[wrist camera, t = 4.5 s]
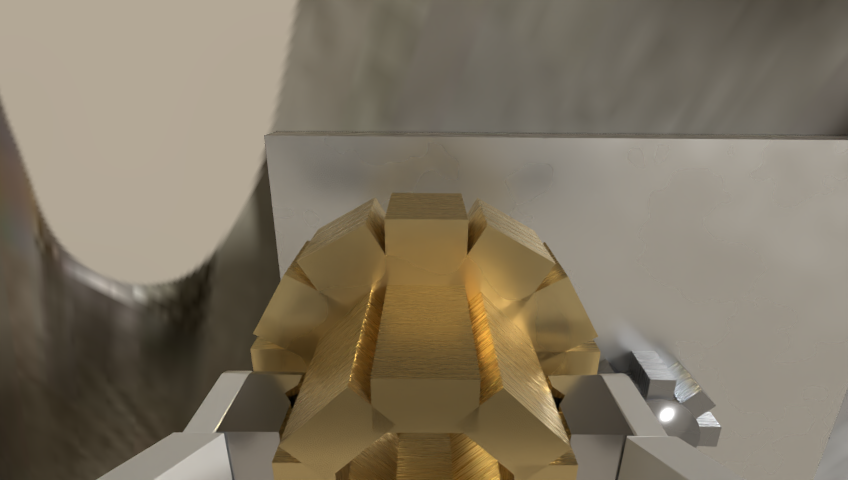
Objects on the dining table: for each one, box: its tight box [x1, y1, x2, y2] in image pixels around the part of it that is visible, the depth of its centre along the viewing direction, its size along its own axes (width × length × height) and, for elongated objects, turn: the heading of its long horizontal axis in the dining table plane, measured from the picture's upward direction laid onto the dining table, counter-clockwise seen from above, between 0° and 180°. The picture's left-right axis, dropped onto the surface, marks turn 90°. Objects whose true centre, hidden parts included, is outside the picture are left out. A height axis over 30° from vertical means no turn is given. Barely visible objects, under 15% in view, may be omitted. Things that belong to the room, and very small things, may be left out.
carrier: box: [264, 131, 848, 480], centre depth 18 cm, size 22×20×5 cm
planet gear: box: [250, 193, 601, 480], centre depth 9 cm, size 7×7×5 cm
